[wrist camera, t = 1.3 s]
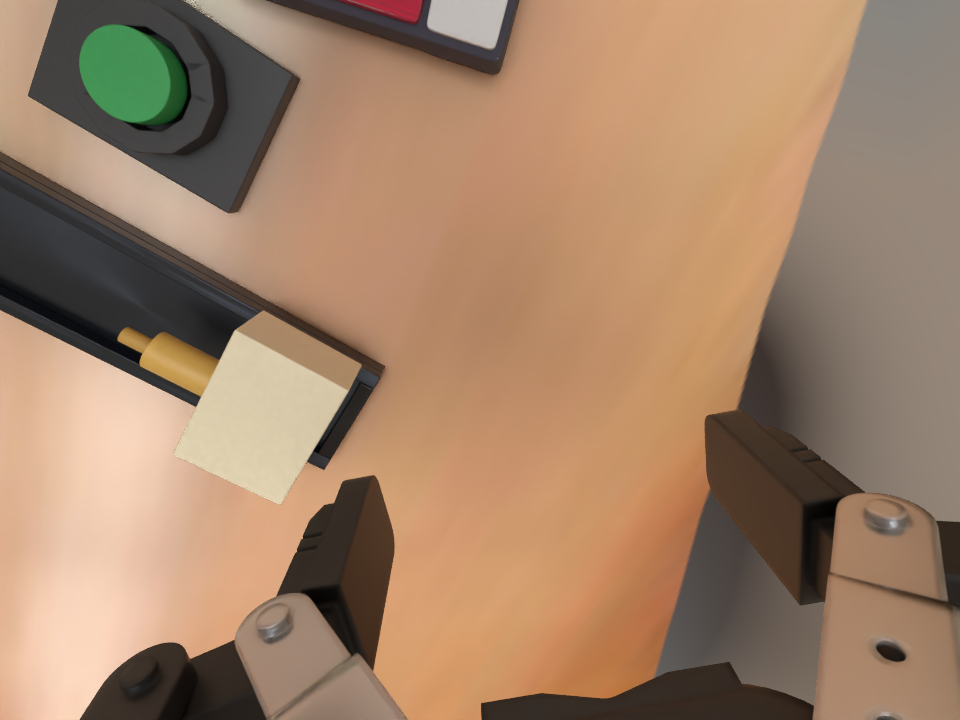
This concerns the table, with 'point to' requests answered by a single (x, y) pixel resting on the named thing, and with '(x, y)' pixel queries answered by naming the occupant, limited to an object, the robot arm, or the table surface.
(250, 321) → the nozzle carriage
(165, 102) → the button
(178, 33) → the button box
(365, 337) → the table surface
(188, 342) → the rail
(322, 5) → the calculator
